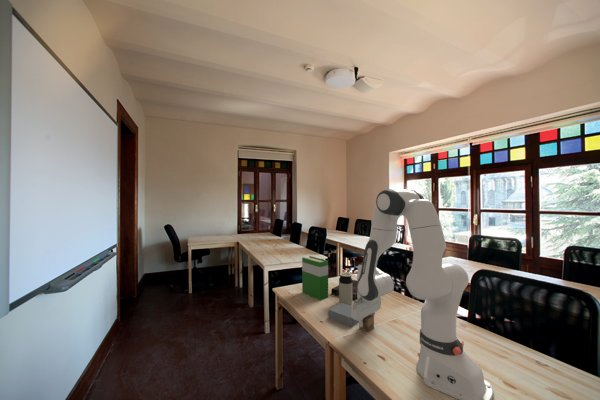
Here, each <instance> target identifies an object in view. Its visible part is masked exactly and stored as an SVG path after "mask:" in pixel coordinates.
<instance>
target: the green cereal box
mask: <svg viewBox="0 0 600 400" xmlns="http://www.w3.org/2000/svg"><path fill="white" fill-rule="evenodd" d="M301 270H302V271H301V276H302V278H301V279H302V280H301V286H302V288H301V291H302V292H303V293H302V294H305V295H307V296H309V297H311V298H313V297H314V298H313V299H315V298H316V300H318V301H323V300H325V299H328V298H329V260H328V259H327V260H326V259H324V258H319V257H316V256H311V255H309V256H308V257H302V258H301Z"/></svg>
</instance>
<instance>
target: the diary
mask: <svg viewBox="0 0 600 400" xmlns="http://www.w3.org/2000/svg"><path fill="white" fill-rule="evenodd" d="M357 282H358V281H357V279H352V302H355V300H356V299H358V298H357ZM330 290H331V295H334V296H335V295H336V296H338V297H339V284H338V285H336V286H335V287H332V288H331V289H330Z"/></svg>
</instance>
